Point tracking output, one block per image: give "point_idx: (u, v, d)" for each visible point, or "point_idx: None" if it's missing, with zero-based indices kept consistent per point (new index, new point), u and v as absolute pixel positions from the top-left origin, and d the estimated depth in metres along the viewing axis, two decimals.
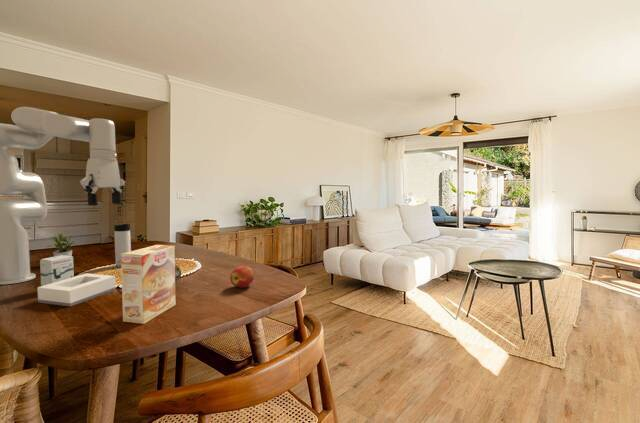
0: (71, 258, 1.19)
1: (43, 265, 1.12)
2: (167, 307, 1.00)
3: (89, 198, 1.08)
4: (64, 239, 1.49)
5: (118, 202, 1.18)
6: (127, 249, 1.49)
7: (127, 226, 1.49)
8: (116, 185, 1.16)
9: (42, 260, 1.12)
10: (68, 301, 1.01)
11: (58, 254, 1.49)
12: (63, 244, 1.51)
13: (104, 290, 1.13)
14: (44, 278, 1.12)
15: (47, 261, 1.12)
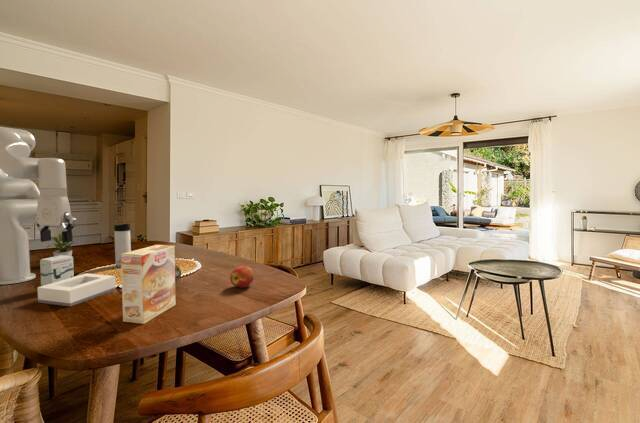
0: (71, 258, 1.19)
1: (43, 265, 1.12)
2: (167, 307, 1.00)
3: (68, 235, 1.13)
4: None
5: (50, 238, 1.17)
6: (127, 249, 1.49)
7: (127, 226, 1.49)
8: None
9: (42, 260, 1.12)
10: (68, 301, 1.01)
11: (58, 254, 1.49)
12: (63, 244, 1.51)
13: (104, 290, 1.13)
14: (44, 278, 1.12)
15: (47, 261, 1.12)
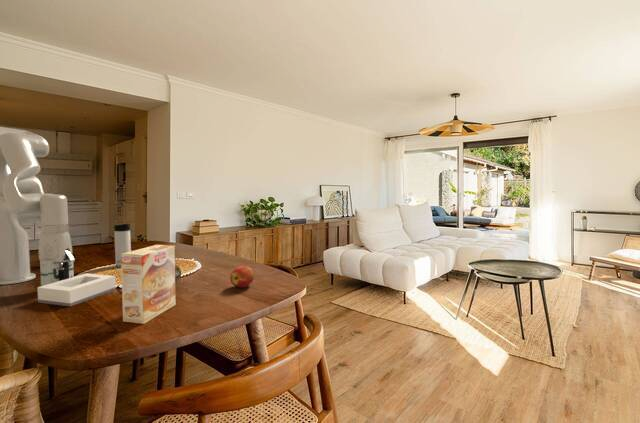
0: None
1: (43, 265, 1.12)
2: (167, 307, 1.00)
3: (65, 273, 1.15)
4: None
5: None
6: (127, 249, 1.49)
7: (127, 226, 1.49)
8: None
9: (42, 260, 1.12)
10: (68, 301, 1.01)
11: None
12: None
13: (104, 290, 1.13)
14: (44, 278, 1.12)
15: (47, 261, 1.12)
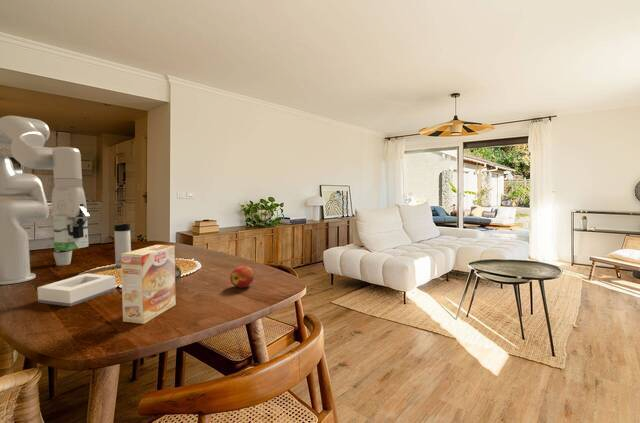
0: None
1: (56, 221, 1.06)
2: (167, 307, 1.00)
3: (80, 231, 1.09)
4: None
5: None
6: (127, 249, 1.49)
7: (127, 226, 1.49)
8: None
9: (55, 215, 1.06)
10: (68, 301, 1.01)
11: (58, 254, 1.49)
12: None
13: (104, 290, 1.13)
14: (58, 234, 1.07)
15: (61, 216, 1.06)
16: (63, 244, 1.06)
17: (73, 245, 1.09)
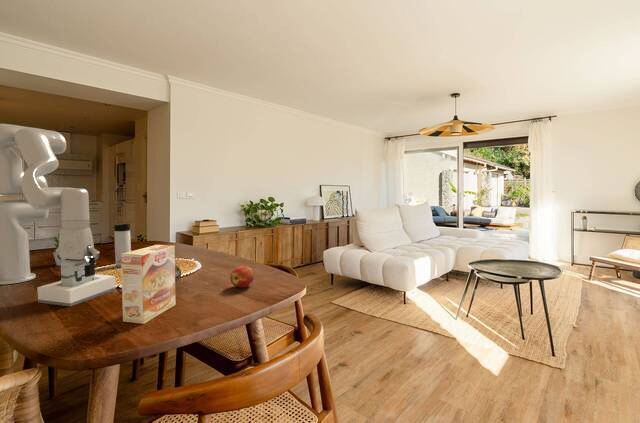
0: None
1: (64, 267, 1.06)
2: (167, 307, 1.00)
3: (91, 269, 1.09)
4: None
5: None
6: (127, 249, 1.49)
7: (127, 226, 1.49)
8: None
9: (63, 262, 1.06)
10: (68, 301, 1.01)
11: None
12: None
13: (104, 290, 1.13)
14: (65, 281, 1.06)
15: (68, 263, 1.06)
16: None
17: None
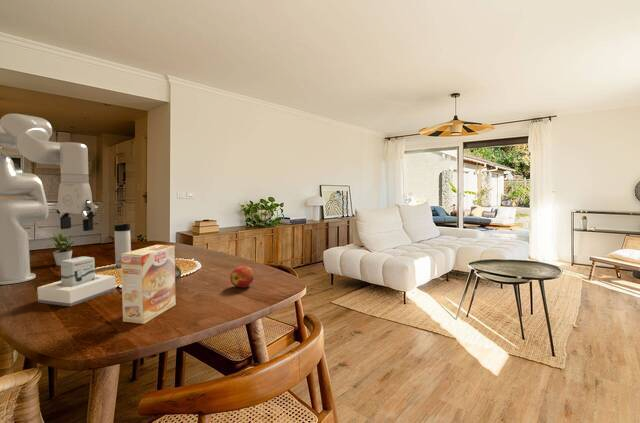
0: (92, 260, 1.13)
1: (64, 267, 1.06)
2: (167, 307, 1.00)
3: (89, 223, 1.09)
4: (64, 239, 1.49)
5: (70, 226, 1.13)
6: (127, 249, 1.49)
7: (127, 226, 1.49)
8: None
9: (63, 262, 1.06)
10: (68, 301, 1.01)
11: (58, 254, 1.49)
12: (63, 244, 1.51)
13: (104, 290, 1.13)
14: (65, 281, 1.06)
15: (68, 263, 1.06)
16: None
17: None
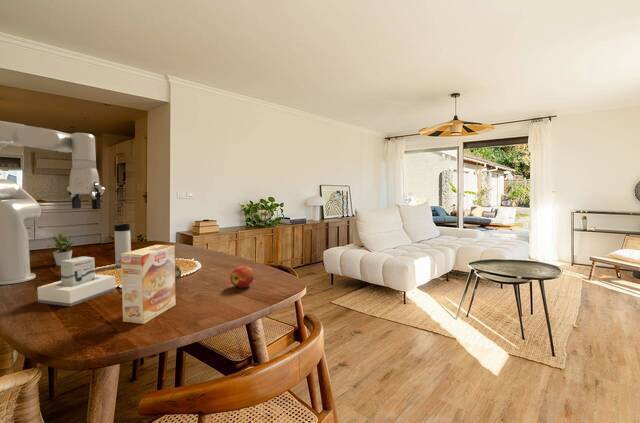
0: (92, 260, 1.13)
1: (64, 267, 1.06)
2: (167, 307, 1.00)
3: (97, 203, 1.27)
4: (64, 239, 1.49)
5: (80, 206, 1.31)
6: (127, 249, 1.49)
7: (127, 226, 1.49)
8: None
9: (63, 262, 1.06)
10: (68, 301, 1.01)
11: (58, 254, 1.49)
12: (63, 244, 1.51)
13: (104, 290, 1.13)
14: (65, 281, 1.06)
15: (68, 263, 1.06)
16: None
17: None
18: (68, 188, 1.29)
